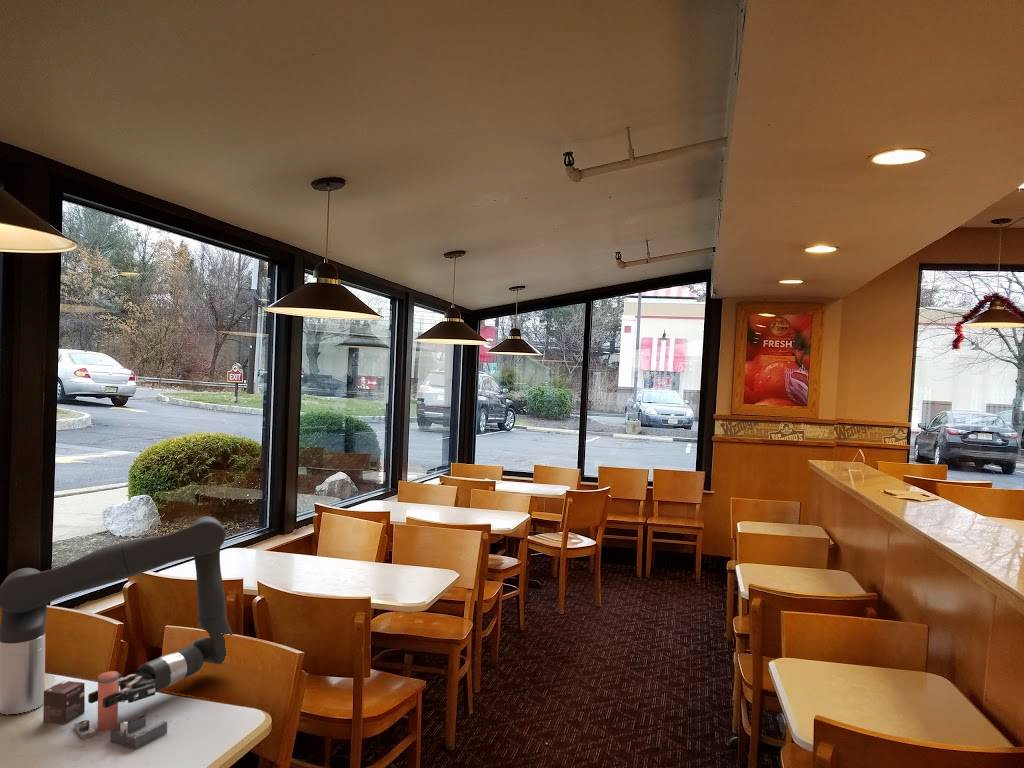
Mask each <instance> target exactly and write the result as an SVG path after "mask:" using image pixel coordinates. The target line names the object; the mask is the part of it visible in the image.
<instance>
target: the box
mask: <svg viewBox="0 0 1024 768" xmlns="http://www.w3.org/2000/svg"><path fill="white" fill-rule="evenodd" d="M85 688H86V687H85V682H81V681H71V680H63V681H61V682H60V683H57V684H55V685H52V686H51V687H49V688H47V689H45V691H44V704H43V715H42V716H43V717H42V718H43V719H42V722H44V721H46V722H45V723H53V724H61V725H64V724H65V725H66V724H68V723H69V722H72V721H73V720H74V719H76V718H78V717H79V716H82V715H83V714H84V713H85V706H86V705H85V704H86V703H85V701H86V700H85Z"/></svg>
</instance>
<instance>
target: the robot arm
mask: <svg viewBox="0 0 1024 768" xmlns="http://www.w3.org/2000/svg"><path fill="white" fill-rule="evenodd" d="M226 535H227V533H226V529H225V528H224V526H223V524H222V523H221V522H220V521H219V520H218V519H217V518H215V517H213V516H210V515H209V516H208V515H207V516H201V517H198V518H196V519H195V520H194V521H193V522H191V524H190V525H189V526H187V527H184V528H182V529H180V530H177V531H174V532H171V533H168V534H164V535H160V536H150V537H143V538H136V539H130V540H126V541H123V542H118V543H115V544H111V545H108V546H105V547H103V548H99V549H97V550H94V551H92V552H90V553H88V554H86V555H84V556H82V557H79V558H77V559H75V560H73V561H71V562H69V563H67V564H65V565H62V566H59V567H54V568H52V569H47V570H44V571H40V570H38V569H36V568H32V567H24V568H19V569H16V570H14V571H13V572H11V573H10V574H8V575H7V576H6V577H5V579H4V580H3V582H2V583H1V584H0V609H1V616H0V713H1V714H0V715H2V714H17V713H22V714H24V713H23V712H26V713H28V712H27V711H29V712H32V711H34V710H33V709H35V710H36V708H37V709H39V708H40V707H42V706H43V705H44V691H45V690H46V688H45V687H46V686H45V685H46V682H45V680H46V674H45V673H46V623H47V617H48V616H47V615H48V614H47V611H48V607H47V606H48V603H50V602H53V601H56V600H59V599H61V598H63V597H67V596H69V595H72V594H77V593H79V592H84V591H87V590H91V589H94V588H95V589H96V588H98V587H101V586H105V585H108V584H112V583H116V582H119V581H123V580H125V579H128V578H132V577H135V576H138V575H141V574H143V573H146V572H149V571H152V570H154V569H156V568H160V567H162V566H164V565H166V564H167V565H168V564H170V563H173V562H177V561H181V560H184V559H189V558H194V559H193V560H194V566H195V574H196V575H195V576H196V603H197V605H196V606H197V617H198V626H199V628H201V629H202V630H203V631H205V632H207V634H208V635H209V636H210V638H203V637H204V636H201V637H199V638H198V639H195V640H194V641H193V642H192V643H190V644H189V645H187V646H186V647H184V648H181V649H179V650H177V651H175V652H171V653H168V654H165V655H161V656H159V657H157V658H155V659H153V660H150V661H147V662H145V663H142V664H141V665H140V666H139V667H138V668H137V670H136V672H135V673H131V674H128V675H126V676H125V677H122V674H121V673H119V678H118V692H116V693H114V694H112V695H110V696H107V697H105V698H104V699H103V707H104V708H107V707H110V706H112V705H114V704H116V703H118V704H119V703H125V702H127V703H128V704H129V703H130V704H131V703H133V702H138V701H140V700H143V699H147V698H149V697H150V698H151V697H152V696H155V695H156V693H158V692H160V691H162V690H164V689H166V688H168V687H171V686H173V685H174V684H177V683H178V682H180V681H181V680H183V679H185V678H188V677H190V676H192V675H194V674H196V673H198V672H199V671H200V670H201V668H202V667H203V665H204V663H203V662H207V663H206V664H213V663H214V664H213V665H222V664H221V663H222V662H223V661H224V659H225V656H226V650H225V649H226V648H225V639H224V637H223V635H224V634H230V635H233V636H234V634H233V632H232V628H231V626H230V623H229V621H228V618H227V604H226V595H225V588H224V583H223V578H222V571H221V547H222V546H223V544H224V543H225V540H226ZM221 633H222V634H221ZM87 698H88V699H87V700H88V703H89V704H93V703H95V702H98V689H97V690H95V691H92V692H90V693H88V697H87ZM42 704H43V705H42ZM41 705H42V706H41ZM38 707H39V708H38ZM31 710H32V711H31ZM17 715H18V714H17Z"/></svg>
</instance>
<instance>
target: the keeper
mask: <svg viewBox="0 0 1024 768" xmlns="http://www.w3.org/2000/svg"><path fill="white" fill-rule="evenodd" d="M146 715H147V714H146ZM146 715H145V714H141V715H139V716H137V717H134V718H133V719H131V720H129V721H128V720H123V721H121V722H120V723H119V725H117V726H116V727H115V728H113V729H111V730H109V731H110V738H109V741H110V742H111V743H113V744H117V745H120V746H123V747H124V748H127V749H128V748H129V749H131V750H134V751H136V750H137V749H139V748H141V747H143V746H145V745H147V744H149V743H151V742H152V741H154V740H157V739H158V738H160V737H162V736H164V735H166V734H168V721H166V720H163V721H161V722H159V723H157V724H156V725H153V726H152V727H150V728H147V729H146V730H143V731H142V732H140V733H138V734H133V733H135V732H138V731H139V730H141V729H143V728H145V727H146V726H147V716H146Z"/></svg>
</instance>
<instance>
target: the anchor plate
mask: <svg viewBox="0 0 1024 768" xmlns="http://www.w3.org/2000/svg"><path fill="white" fill-rule="evenodd" d="M90 722H91V721H90V719H89V720H88V719H85V720H82V721H79V722H76V723H73V729H74V730H75V732H76V733H77V735H78V736H79V738H80V739H81V740H86V739H89V738H91V737H94V736H96V730H95V729H94V728H93V727H92V725H91V723H90Z"/></svg>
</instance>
